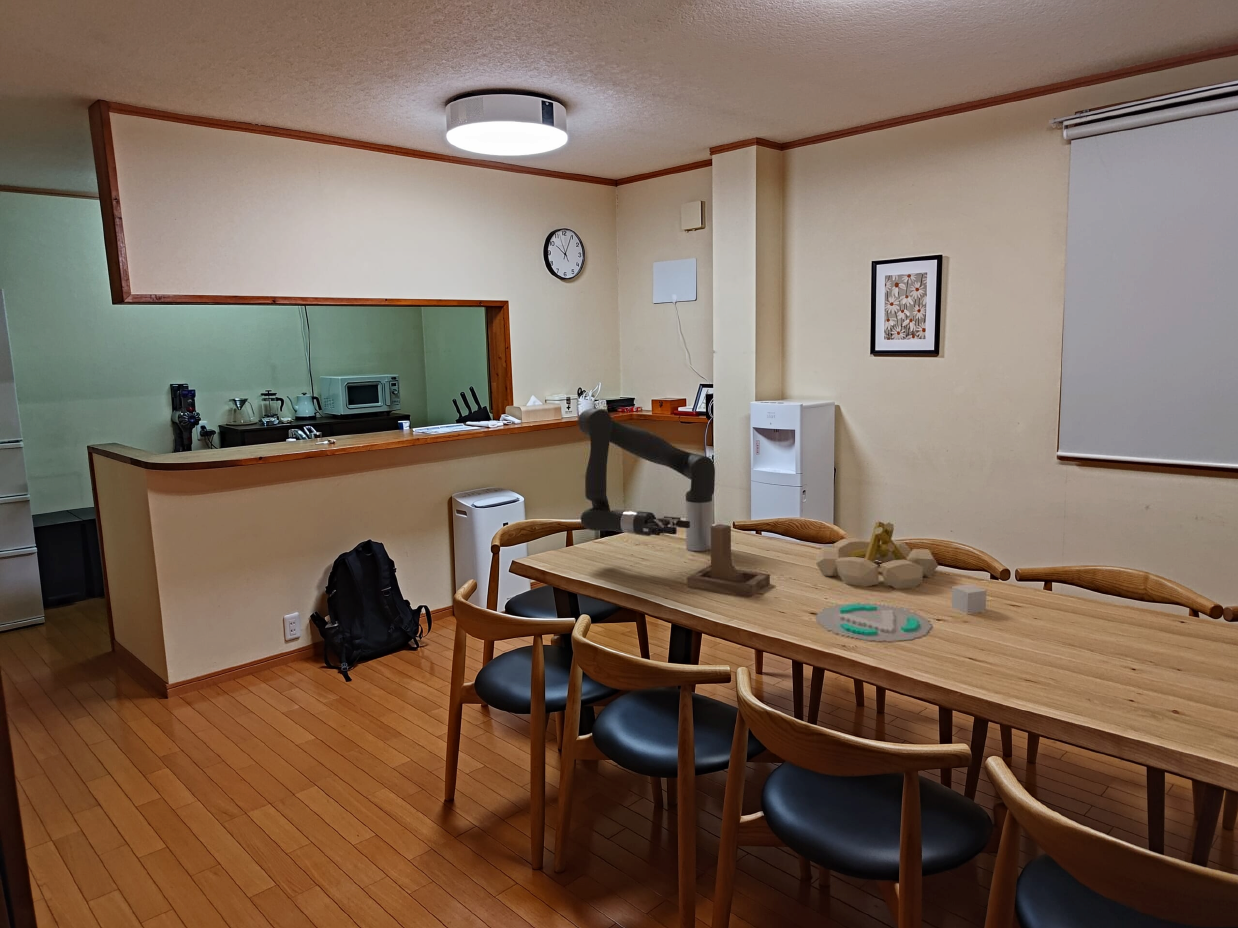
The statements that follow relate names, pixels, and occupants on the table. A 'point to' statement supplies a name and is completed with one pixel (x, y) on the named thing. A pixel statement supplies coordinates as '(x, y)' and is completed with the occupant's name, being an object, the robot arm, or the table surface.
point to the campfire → (859, 555)
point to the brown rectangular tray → (729, 582)
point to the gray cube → (969, 598)
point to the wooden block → (723, 555)
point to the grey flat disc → (873, 622)
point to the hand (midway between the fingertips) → (682, 527)
